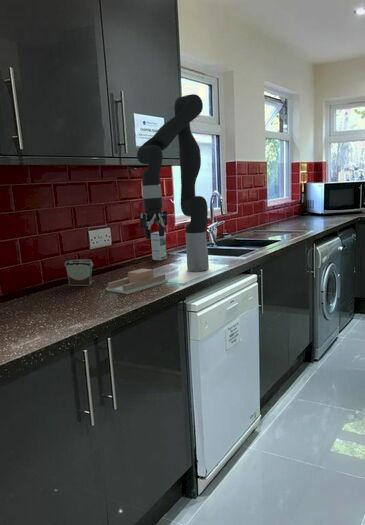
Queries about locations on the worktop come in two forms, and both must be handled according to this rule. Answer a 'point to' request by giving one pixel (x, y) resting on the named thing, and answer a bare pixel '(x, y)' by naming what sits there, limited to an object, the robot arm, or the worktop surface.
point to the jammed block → (139, 275)
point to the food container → (79, 272)
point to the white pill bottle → (158, 246)
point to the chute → (135, 284)
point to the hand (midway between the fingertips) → (155, 237)
